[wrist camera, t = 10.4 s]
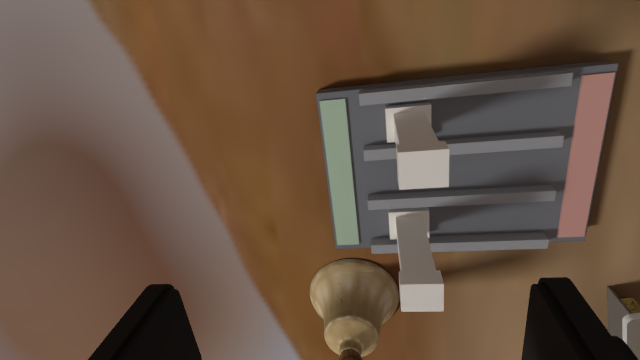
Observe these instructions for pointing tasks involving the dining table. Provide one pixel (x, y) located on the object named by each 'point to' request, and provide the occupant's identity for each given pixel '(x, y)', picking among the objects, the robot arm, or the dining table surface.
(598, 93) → the panel
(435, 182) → the handle
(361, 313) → the hand bell
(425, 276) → the handle
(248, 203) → the dining table surface
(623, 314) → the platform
